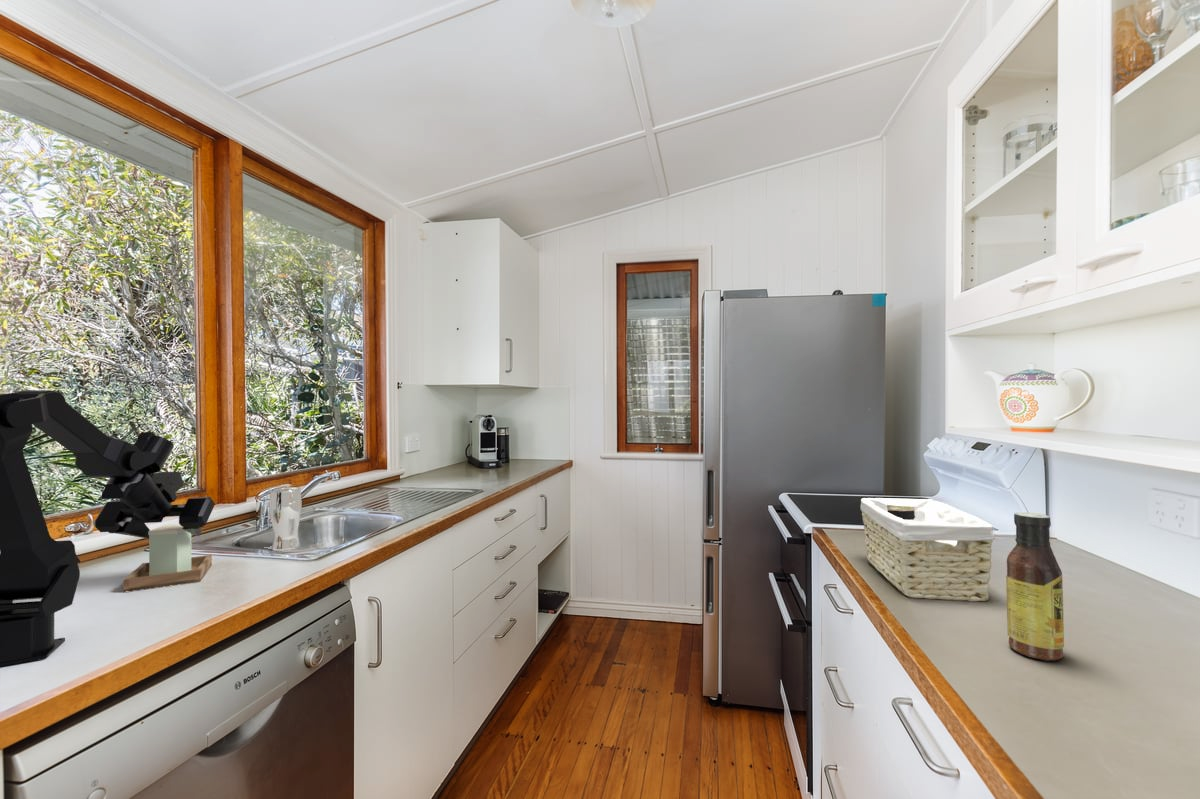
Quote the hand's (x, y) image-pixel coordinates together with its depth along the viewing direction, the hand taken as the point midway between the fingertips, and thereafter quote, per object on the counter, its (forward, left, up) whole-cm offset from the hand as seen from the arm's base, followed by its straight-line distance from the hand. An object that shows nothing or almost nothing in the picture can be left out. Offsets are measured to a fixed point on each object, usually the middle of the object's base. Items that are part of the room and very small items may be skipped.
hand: (174, 535), depth 108 cm
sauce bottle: (-105, -119, -9) cm, 159 cm away
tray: (-1, 0, -9) cm, 9 cm away
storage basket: (-80, -135, -9) cm, 157 cm away
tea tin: (-1, 0, -8) cm, 8 cm away
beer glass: (+13, -20, -9) cm, 25 cm away
